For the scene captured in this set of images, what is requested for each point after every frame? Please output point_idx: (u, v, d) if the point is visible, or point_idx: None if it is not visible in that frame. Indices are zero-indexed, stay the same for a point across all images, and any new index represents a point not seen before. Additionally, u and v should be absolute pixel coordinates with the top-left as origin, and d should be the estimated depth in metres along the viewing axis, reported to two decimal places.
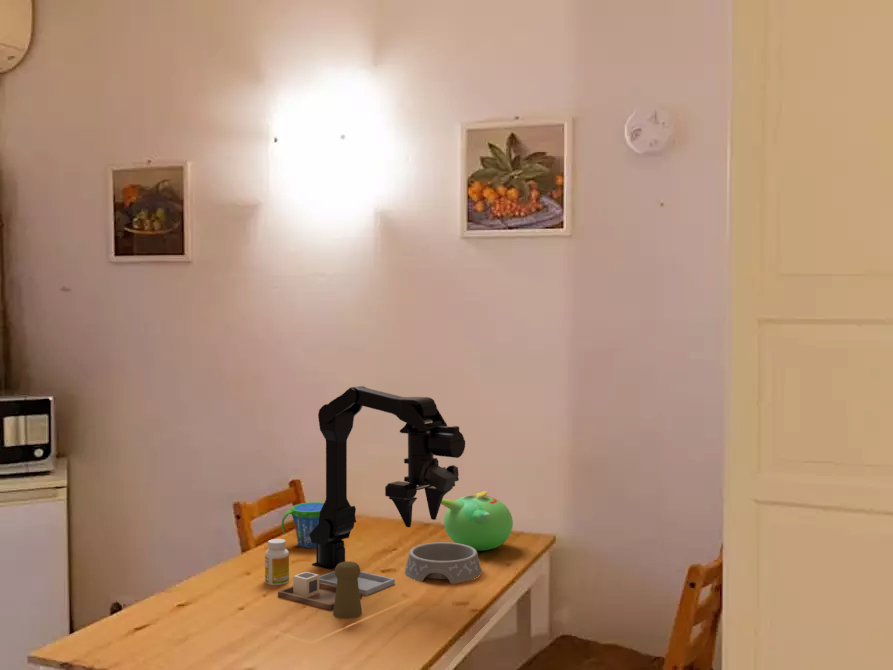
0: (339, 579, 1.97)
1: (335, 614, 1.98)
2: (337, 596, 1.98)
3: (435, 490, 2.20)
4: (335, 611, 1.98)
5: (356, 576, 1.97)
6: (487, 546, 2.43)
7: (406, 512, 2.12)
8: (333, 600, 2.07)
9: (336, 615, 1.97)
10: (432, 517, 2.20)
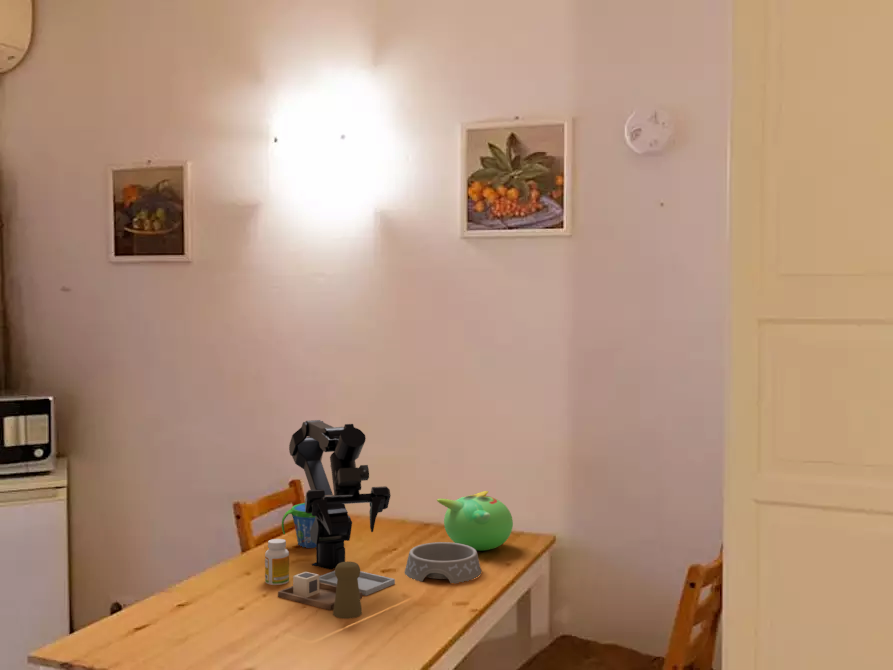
0: (339, 579, 1.97)
1: (335, 614, 1.98)
2: (337, 596, 1.98)
3: (371, 504, 2.17)
4: (335, 611, 1.98)
5: (356, 576, 1.97)
6: (487, 546, 2.43)
7: (324, 519, 2.12)
8: (333, 600, 2.07)
9: (336, 615, 1.97)
10: (371, 529, 2.13)
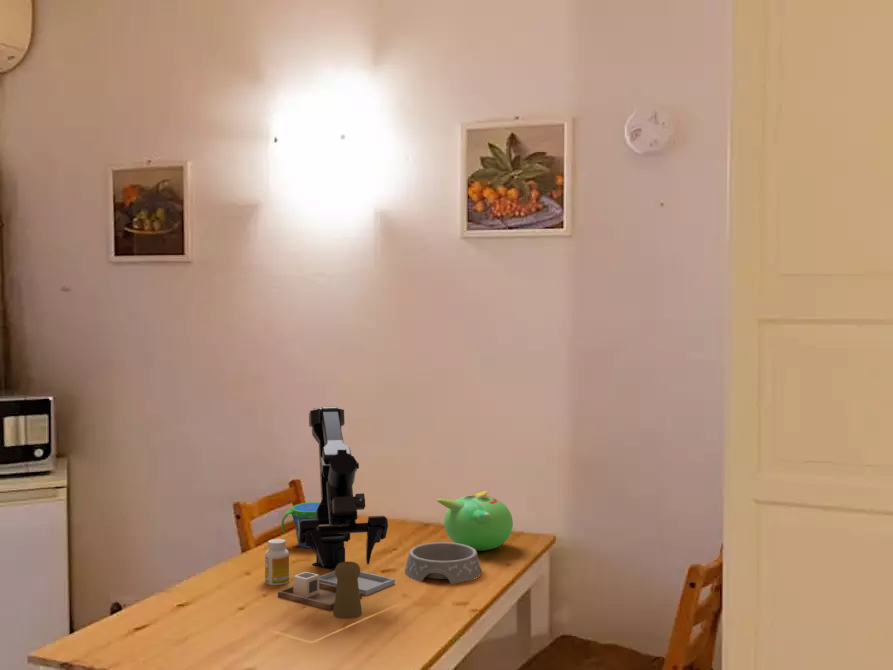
0: (339, 579, 1.97)
1: (335, 614, 1.98)
2: (337, 596, 1.98)
3: (367, 535, 2.06)
4: (335, 611, 1.98)
5: (356, 576, 1.97)
6: (487, 546, 2.43)
7: (317, 550, 2.02)
8: (333, 600, 2.07)
9: (336, 615, 1.97)
10: None
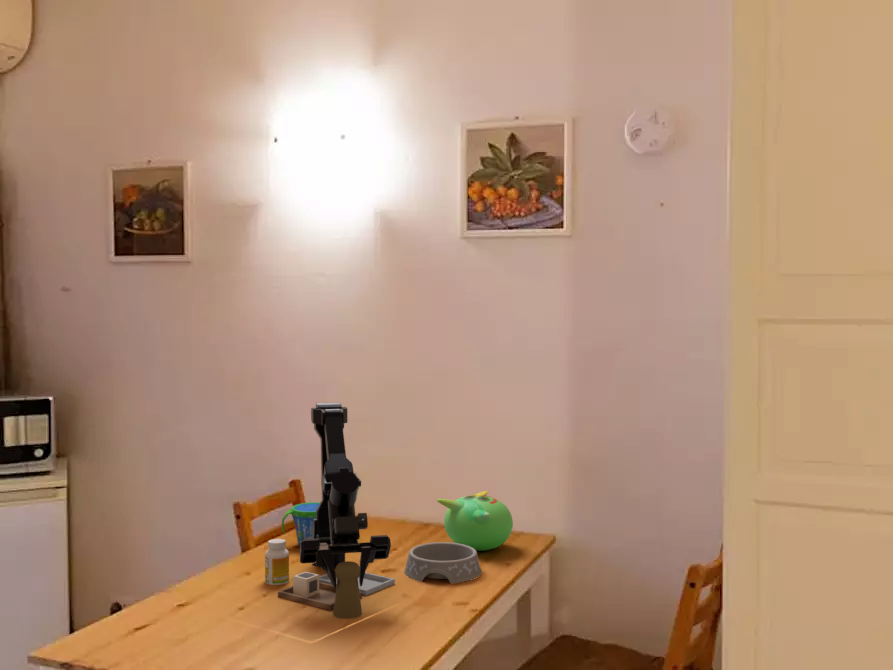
0: (339, 579, 1.97)
1: (335, 614, 1.98)
2: (337, 596, 1.98)
3: None
4: (335, 611, 1.98)
5: (356, 576, 1.97)
6: (487, 546, 2.43)
7: (328, 570, 1.99)
8: (333, 600, 2.07)
9: (336, 615, 1.97)
10: (360, 583, 1.99)
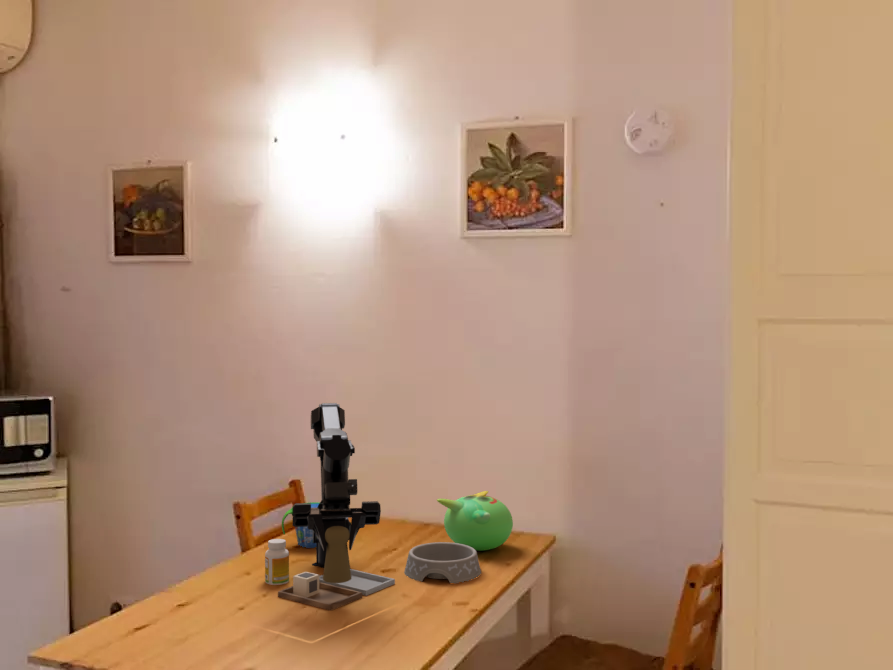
0: (328, 543, 2.02)
1: (324, 577, 2.03)
2: (326, 559, 2.02)
3: None
4: (324, 574, 2.03)
5: (345, 540, 2.02)
6: (487, 546, 2.43)
7: (318, 534, 2.04)
8: (333, 600, 2.07)
9: (325, 578, 2.02)
10: (349, 547, 2.03)
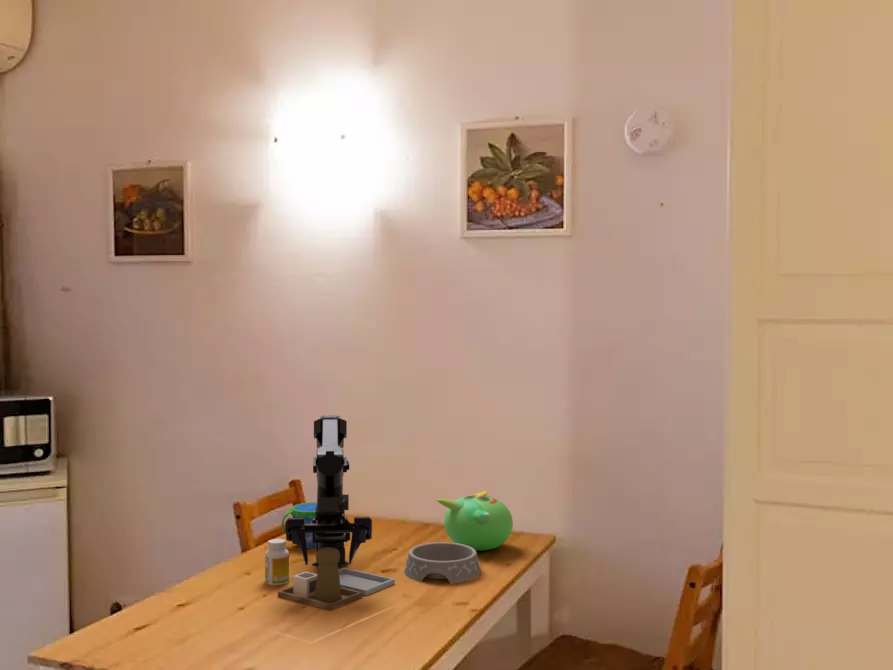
0: (319, 564, 2.06)
1: (315, 597, 2.07)
2: (317, 580, 2.07)
3: None
4: (315, 594, 2.07)
5: (335, 561, 2.06)
6: (487, 546, 2.43)
7: (301, 548, 2.08)
8: None
9: (316, 598, 2.06)
10: (349, 561, 2.07)
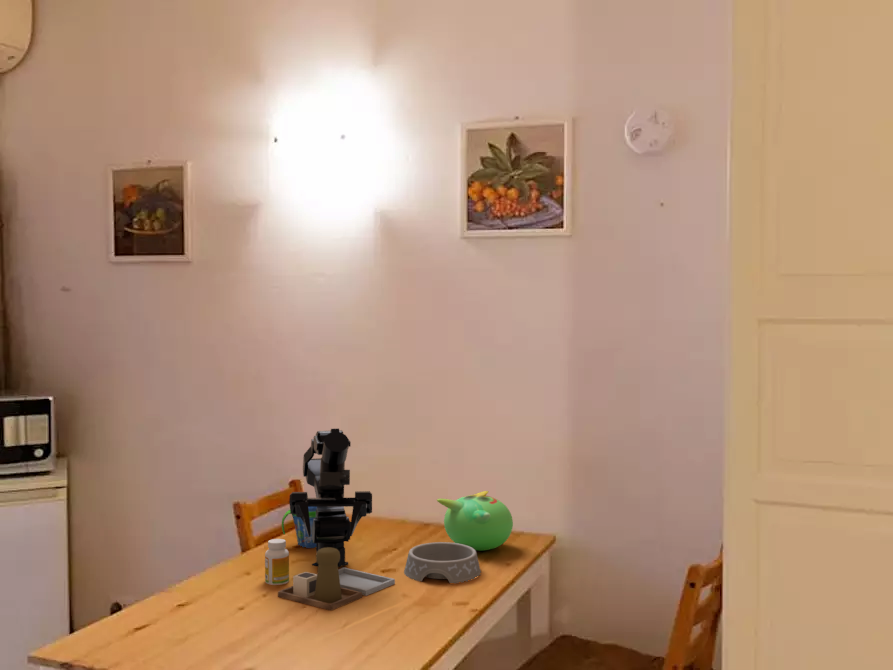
0: (319, 564, 2.06)
1: (315, 597, 2.07)
2: (317, 580, 2.07)
3: None
4: (315, 594, 2.07)
5: (335, 561, 2.06)
6: (487, 546, 2.43)
7: (304, 521, 2.17)
8: None
9: (316, 598, 2.06)
10: (349, 533, 2.16)
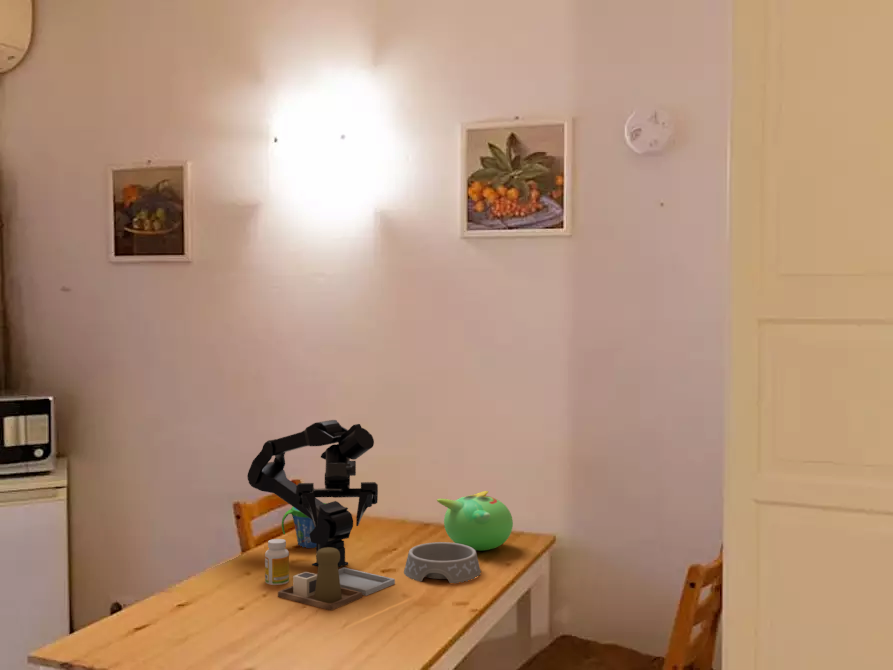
0: (319, 564, 2.06)
1: (315, 597, 2.07)
2: (317, 580, 2.07)
3: None
4: (315, 594, 2.07)
5: (335, 561, 2.06)
6: (487, 546, 2.43)
7: (311, 511, 2.20)
8: None
9: (316, 598, 2.06)
10: (356, 523, 2.19)
